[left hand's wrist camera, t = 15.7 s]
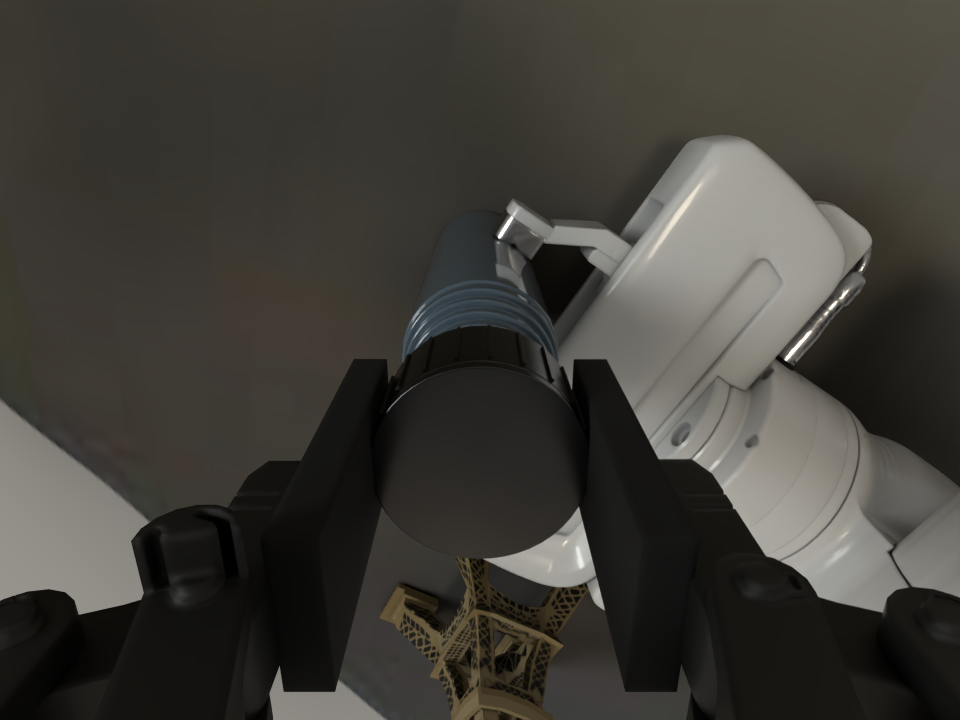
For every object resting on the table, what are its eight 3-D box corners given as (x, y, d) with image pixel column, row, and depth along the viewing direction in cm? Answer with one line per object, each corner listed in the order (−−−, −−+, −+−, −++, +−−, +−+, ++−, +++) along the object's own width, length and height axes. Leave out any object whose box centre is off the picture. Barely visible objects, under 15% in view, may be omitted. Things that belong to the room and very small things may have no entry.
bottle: (432, 296, 32) (367, 539, 14) (437, 206, 30) (371, 343, 12) (520, 303, 32) (574, 553, 14) (530, 214, 30) (607, 362, 12)
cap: (600, 462, 15) (621, 524, 13) (428, 517, 16) (419, 586, 13) (540, 294, 14) (552, 331, 11) (353, 362, 14) (327, 410, 12)
